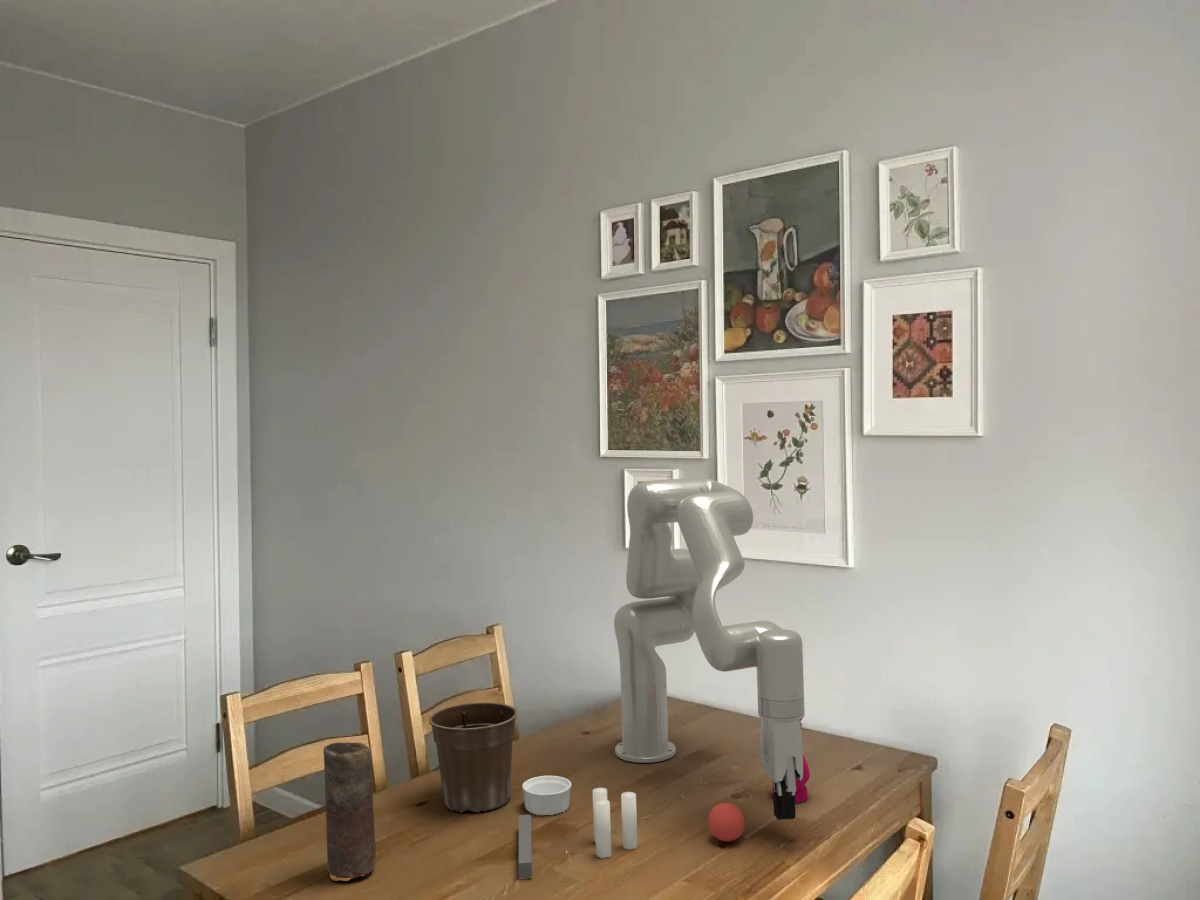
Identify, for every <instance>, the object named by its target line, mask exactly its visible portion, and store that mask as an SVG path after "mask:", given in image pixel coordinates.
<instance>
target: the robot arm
mask: <svg viewBox="0 0 1200 900" xmlns="http://www.w3.org/2000/svg"><path fill="white" fill-rule="evenodd" d="M626 510H627V518H628V523H629V541H628V542H629V543H628V550H627V551H628V554H627V562H626V563H627V565H626V577H625V584H626V588H627V591H628V593H629V594H630V595H631V597H634V598H636V599H643V600H638V601H633V602H630V603H626V604H624V605H622V606H621V607H619V609H618V610H617V611H616V613H615V615H614V619H613V627H614V634H615V638H616V642H617V647H618V657H619V671H620V672H619V673H620V696H621V697H620V703H621V705H620V706H621V707H620V708H621V736H622V739H621V740H622V741H621V742H619V743H618V744H616V745H615V748H614V754H615V755H616V757H618V759H619V758H620V759H621V760H623V761H626V762H629V763H630V762H632V763H640V764H641V763H642V764H644V763H645V764H649V763H659V762H663V761H667V760H669V759H671V758H672V757H674V756H675V755H676V753H677V750H676V749H677V747H676V745H675V744H674V743H673V742H671V741H669V731H668V729H669V725H668V723H669V722H668V721H669V720H668V690H667V689H668V688H667V687H668V686H667V668H666V664H665V663H664V662H665V661H663V659H662V658H661V657H660V655H659V654H658V652H657V651H656V649H655V648H656V647H661V646H665V645H673V644H678V643H684V642H686V641H688V640H690V639H691V638H692V637H693V635H694V634H695V636H696V638H697V641H698V643H699V646H700V649H701V651H702V653H703V655H704V657H705V659H706V661H707V662H708V663H709V665H710V666H711V667H712V668H713V669H714V670H716V671H719V672H733V671H738V670H745V669H749V668H756V683H757V684H756V685H757V687H756V688H757V713H758V717H759V718H760V719H761V720H760V746H759V747H760V753H759V754H760V756H759V757H760V758H759V759H760V765H761V767H762V769H763V770H764V772H765V773H766V775H767V776H768V777H769V779H770V780H771V781H772V786H773V790H774V791H777V792H773V796H772V799H773V815H774V817H775V818H776V819H777V820H779V821H781V820H793V819H796V814H797V813H796V803H795V792H796V783H795V778H796V779H797V781H801V780H802V778H803V756H804V753H803V745H802V744H803V741H802V732H801V728H800V722H801V721H800V719H802V718H803V719H804V717H805V715H806V713H805V710H806V709H805V686H804V684H805V683H804V682H805V680H804V679H805V678H804V655H803V654H804V651H803V638H802V636H801V635H800V634H799V633H798V632H797V631H794V630H791V629H783V628H782V627H780V626H779V625H777V624H776V623H774V622H772V621H768V620H757V621H752V622H751V621H750V622H743V623H735V624H729V625H723V623H722V621H721V619H720V616H719V614H718V611H717V608H716V595H717V591H719V590H720V589H722V588H723V587H726V586H727V585H728V584H730V583H732V582H734V580H735V579H738V578H739V576H740V575H741V574H742V573H743V572H744V569H745V566H746V564H745V560H744V557H743V556H742V553H741V550H740V549H739V546H738V544H737V541H736V539H735V536H742V535H745V534H747V533H748V532H749V531H750V530H751V529H752V525H753V524H754V523H753V522H754V513H753V509H752V506H751V503H750V502H749V500H748V499H747V497H746V496H745V495H744V494H743V493H742V492H740V491H738V490H737V489H735V488H733V487H731V486H728V485H726V484H723V483H721V482H719V481H717V480H715V479H712V478H709V477H692V478H691V477H690V478H671V479H670V478H667V479H655V480H649V481H648V480H647V481H642V482H639V483H637V484H635V485H634V486H633V487H632V488H631V489H630V492H629V494H628V497H627V502H626ZM671 523H678V526H679V528H680V529H679V530H680V531H681V533H682V536H683V539H684V542H685V544H686V546H687V549H686V548H675V549H674V548H673V549H672V543H673V540H672V539H673V534H672V533H673V532H672V530H671V527H670V525H669V524H671ZM803 719H802V720H803ZM802 753H803V754H802Z"/></svg>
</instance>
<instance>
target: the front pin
mask: <svg viewBox="0 0 1200 900" xmlns="http://www.w3.org/2000/svg"><path fill="white" fill-rule="evenodd" d="M620 796H621V798H620V800H621V801H620V802H621V831H622V833H621V835H622V836H621V837H622V848H623V849H625V850H635V849H637V848H638V824H637V821H638V820H637V818H638V817H637V815H638V814H637V794H636V792H633V791H625V792H622V793H621V795H620Z"/></svg>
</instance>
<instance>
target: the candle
mask: <svg viewBox="0 0 1200 900" xmlns="http://www.w3.org/2000/svg"><path fill="white" fill-rule="evenodd" d="M371 752H372V750H371V748H370V747H368V746H367V745H366V744H365V743H362V742H333V743H329V744H327V745H326V746H324V747H323V762H324V763H323V765H324V768H323V769H324V791H325V792H324V795H325V796H324V797H325V819H326V820H325V821H326V855H327V857H326V858H327V873H328V872H329V873H330V874H331V875H333V876H336V877H340V878H353V877H358V876H361V875H365V874H367V873H368V872H370V871H371V872H372V870H373V869H374V868H375V866H376V863H377V855H376V854H377V853H376V852H377V851H376V849H377V848H376V835H375V834H376V833H375V832H376V831H375V815H374V814H375V813H374V796H373V794H374V793H373V791H374V790H373V774H372V753H371ZM371 872H370V873H371ZM368 874H369V873H368ZM368 874H367V875H368ZM365 876H366V875H365ZM358 878H359V877H358Z"/></svg>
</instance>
